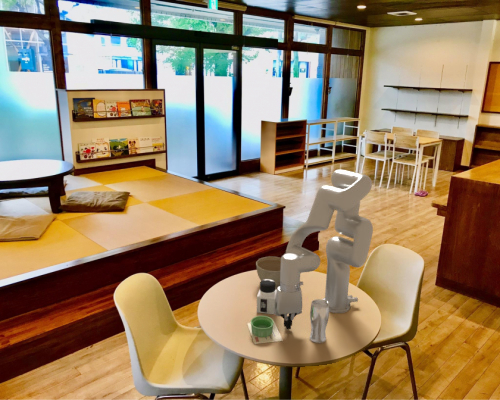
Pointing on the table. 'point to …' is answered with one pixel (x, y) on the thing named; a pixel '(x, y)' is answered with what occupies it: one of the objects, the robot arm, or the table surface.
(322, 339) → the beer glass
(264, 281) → the container
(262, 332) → the ramekin
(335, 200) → the robot arm
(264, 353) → the table surface
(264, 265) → the planter bowl
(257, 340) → the letter
